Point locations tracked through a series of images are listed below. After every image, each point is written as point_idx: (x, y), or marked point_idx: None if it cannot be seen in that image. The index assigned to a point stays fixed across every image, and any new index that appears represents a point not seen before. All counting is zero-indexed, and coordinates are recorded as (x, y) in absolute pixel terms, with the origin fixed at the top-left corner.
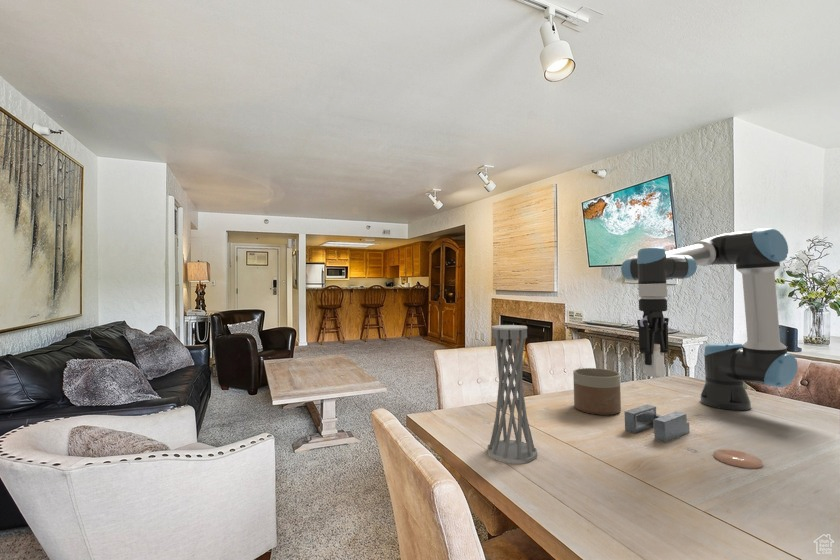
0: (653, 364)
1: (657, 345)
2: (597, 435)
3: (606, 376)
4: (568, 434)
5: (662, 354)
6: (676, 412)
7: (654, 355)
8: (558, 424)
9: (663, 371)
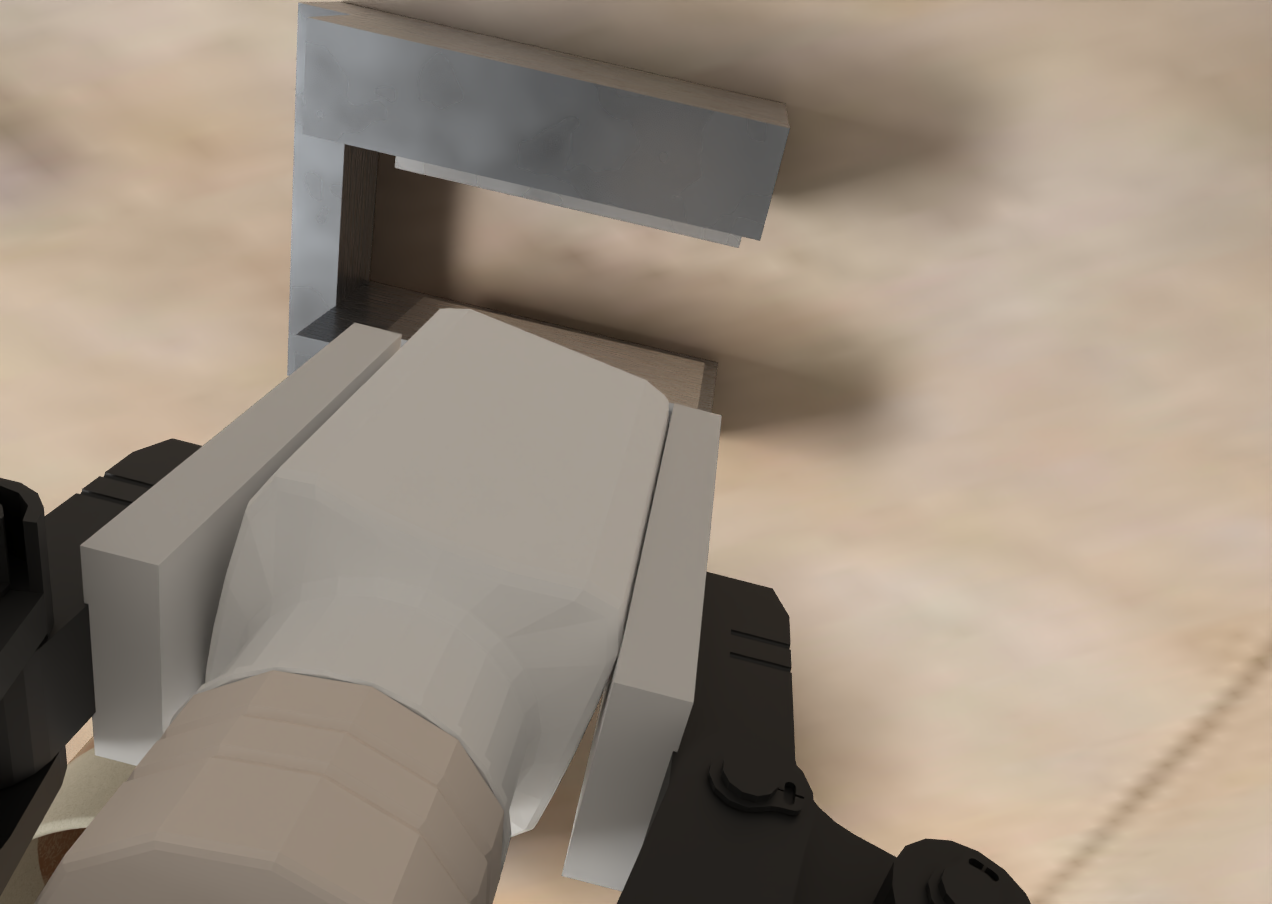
0: (704, 546)
1: (347, 880)
2: (954, 555)
3: (32, 884)
4: (1062, 702)
5: (185, 548)
6: (340, 117)
7: (643, 673)
8: (888, 802)
9: (471, 337)
